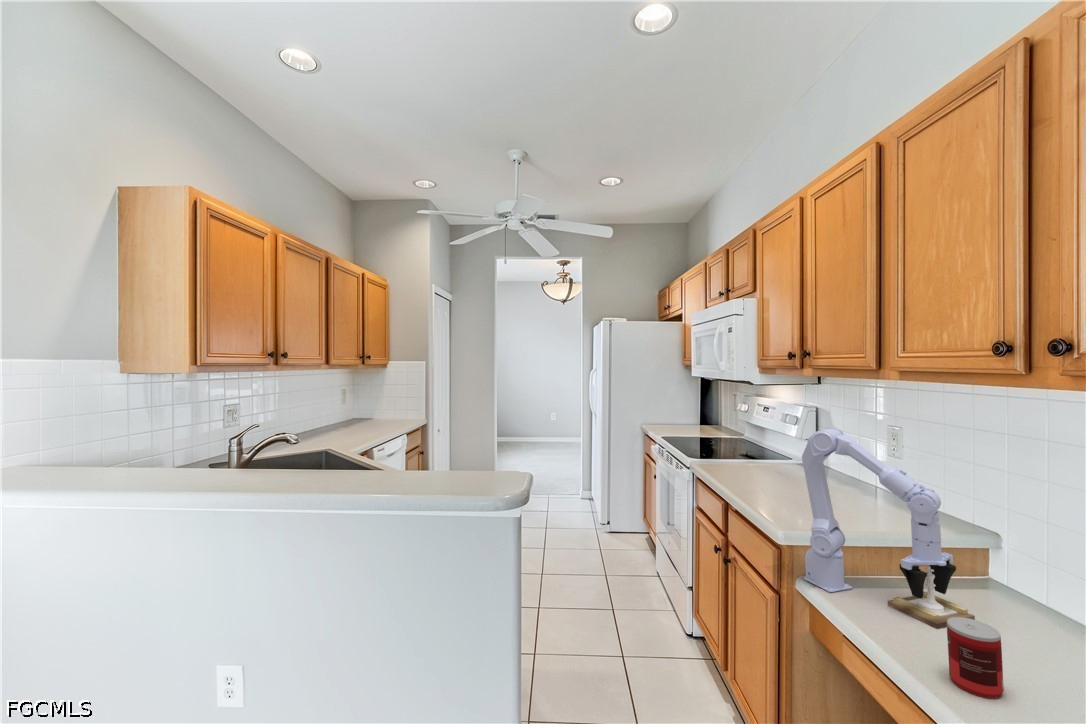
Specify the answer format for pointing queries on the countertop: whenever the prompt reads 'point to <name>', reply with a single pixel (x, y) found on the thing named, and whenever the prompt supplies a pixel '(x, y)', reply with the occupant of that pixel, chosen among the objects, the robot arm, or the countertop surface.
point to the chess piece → (930, 594)
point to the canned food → (975, 657)
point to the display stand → (931, 618)
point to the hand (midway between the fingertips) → (928, 594)
